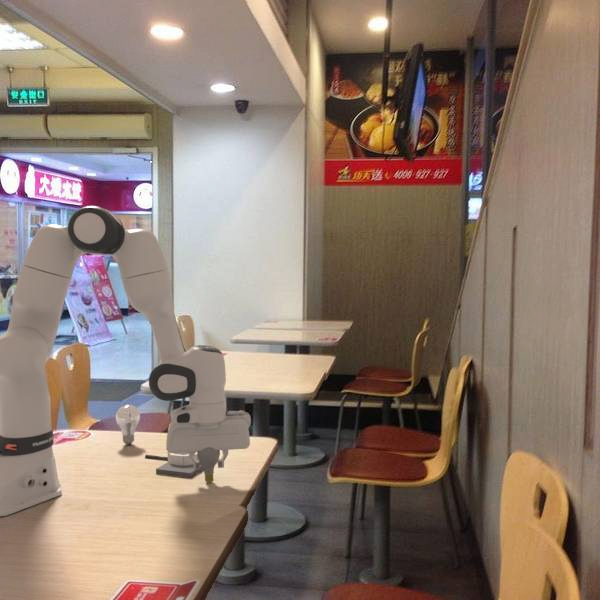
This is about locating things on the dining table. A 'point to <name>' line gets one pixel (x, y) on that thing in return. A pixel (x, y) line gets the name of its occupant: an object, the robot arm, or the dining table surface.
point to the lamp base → (177, 465)
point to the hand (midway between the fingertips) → (208, 468)
